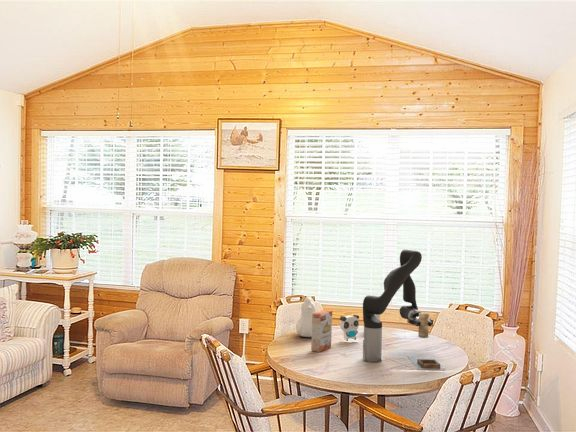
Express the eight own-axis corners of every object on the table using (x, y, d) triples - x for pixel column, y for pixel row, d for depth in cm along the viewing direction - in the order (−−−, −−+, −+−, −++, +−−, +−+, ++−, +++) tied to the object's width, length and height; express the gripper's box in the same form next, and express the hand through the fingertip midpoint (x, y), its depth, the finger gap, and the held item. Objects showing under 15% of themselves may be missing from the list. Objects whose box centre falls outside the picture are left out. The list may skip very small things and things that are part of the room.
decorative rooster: (319, 340, 318) (320, 298, 318) (293, 339, 321) (294, 297, 321) (324, 331, 343) (324, 292, 343) (299, 329, 346) (300, 291, 345)
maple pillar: (419, 338, 275) (420, 314, 275) (417, 335, 280) (417, 312, 280) (429, 338, 275) (430, 314, 275) (426, 335, 280) (427, 312, 280)
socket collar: (421, 368, 263) (422, 364, 263) (417, 363, 272) (417, 359, 272) (440, 368, 263) (440, 364, 263) (434, 363, 272) (435, 359, 272)
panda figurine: (346, 344, 311) (347, 318, 311) (335, 339, 321) (336, 314, 321) (363, 341, 317) (363, 316, 317) (351, 337, 327) (352, 313, 327)
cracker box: (320, 352, 291) (321, 314, 291) (310, 351, 294) (311, 313, 294) (332, 347, 303) (332, 310, 303) (322, 345, 306) (323, 309, 306)
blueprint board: (417, 370, 262) (417, 368, 262) (406, 357, 284) (406, 356, 284) (445, 370, 263) (445, 368, 263) (432, 358, 285) (432, 356, 285)
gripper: (403, 310, 292) (411, 316, 275) (429, 310, 292) (439, 317, 275) (403, 324, 292) (411, 331, 275) (429, 324, 292) (438, 331, 275)
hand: (425, 324), depth 275 cm, fingers closed on maple pillar, 5 cm apart
